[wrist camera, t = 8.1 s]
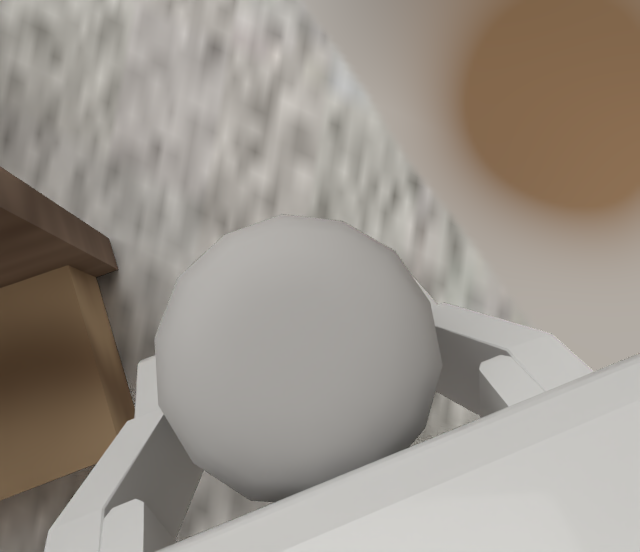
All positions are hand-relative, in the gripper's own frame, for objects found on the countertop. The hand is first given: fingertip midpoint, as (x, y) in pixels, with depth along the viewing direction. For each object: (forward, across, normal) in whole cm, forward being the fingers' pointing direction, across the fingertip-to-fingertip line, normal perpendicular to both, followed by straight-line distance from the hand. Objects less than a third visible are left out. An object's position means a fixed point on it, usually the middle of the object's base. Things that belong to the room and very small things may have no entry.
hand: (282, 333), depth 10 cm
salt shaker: (+6, 0, +7) cm, 9 cm away
